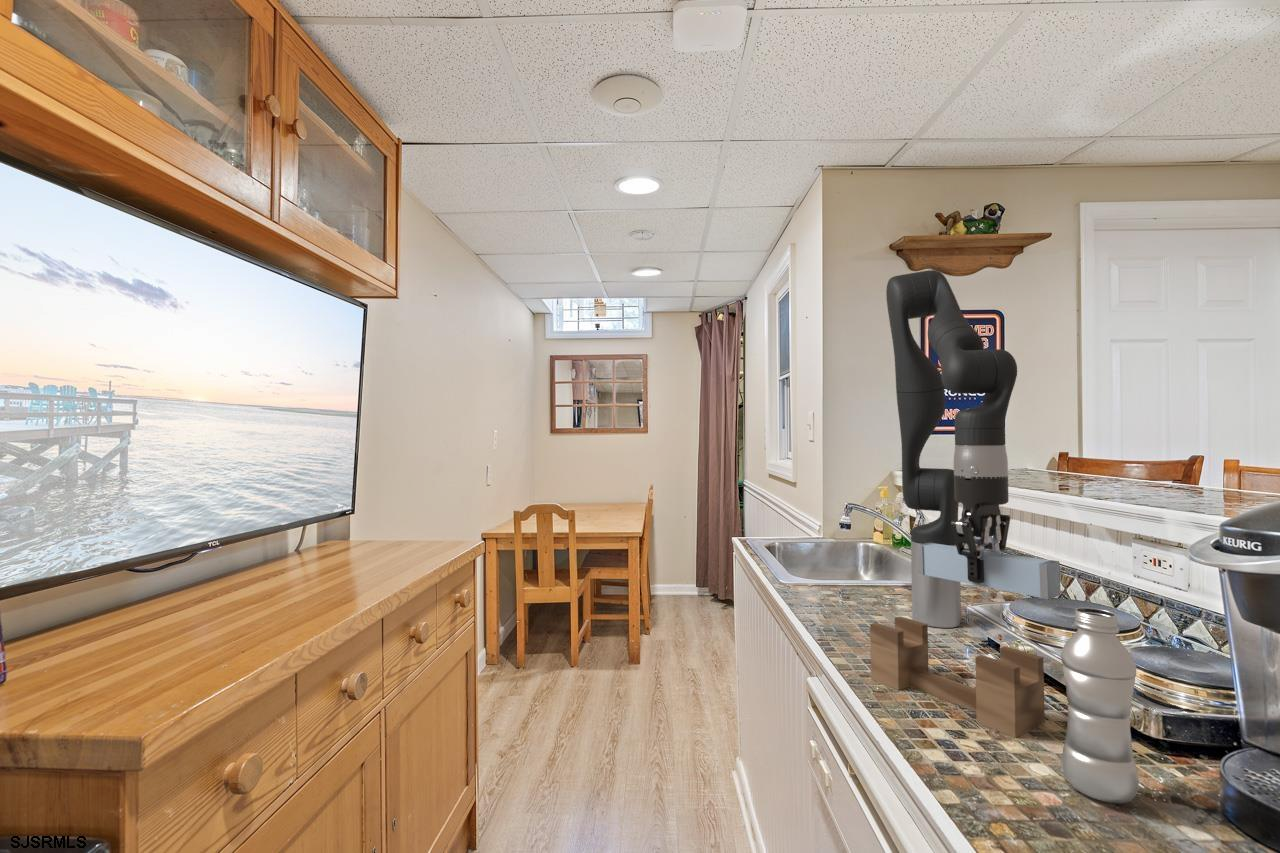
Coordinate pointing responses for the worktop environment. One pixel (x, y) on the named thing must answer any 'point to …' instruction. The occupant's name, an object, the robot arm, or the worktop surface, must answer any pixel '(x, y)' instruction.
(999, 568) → the rail
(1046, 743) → the worktop surface
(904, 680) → the wooden notched stand
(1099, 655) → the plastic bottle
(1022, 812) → the worktop surface
